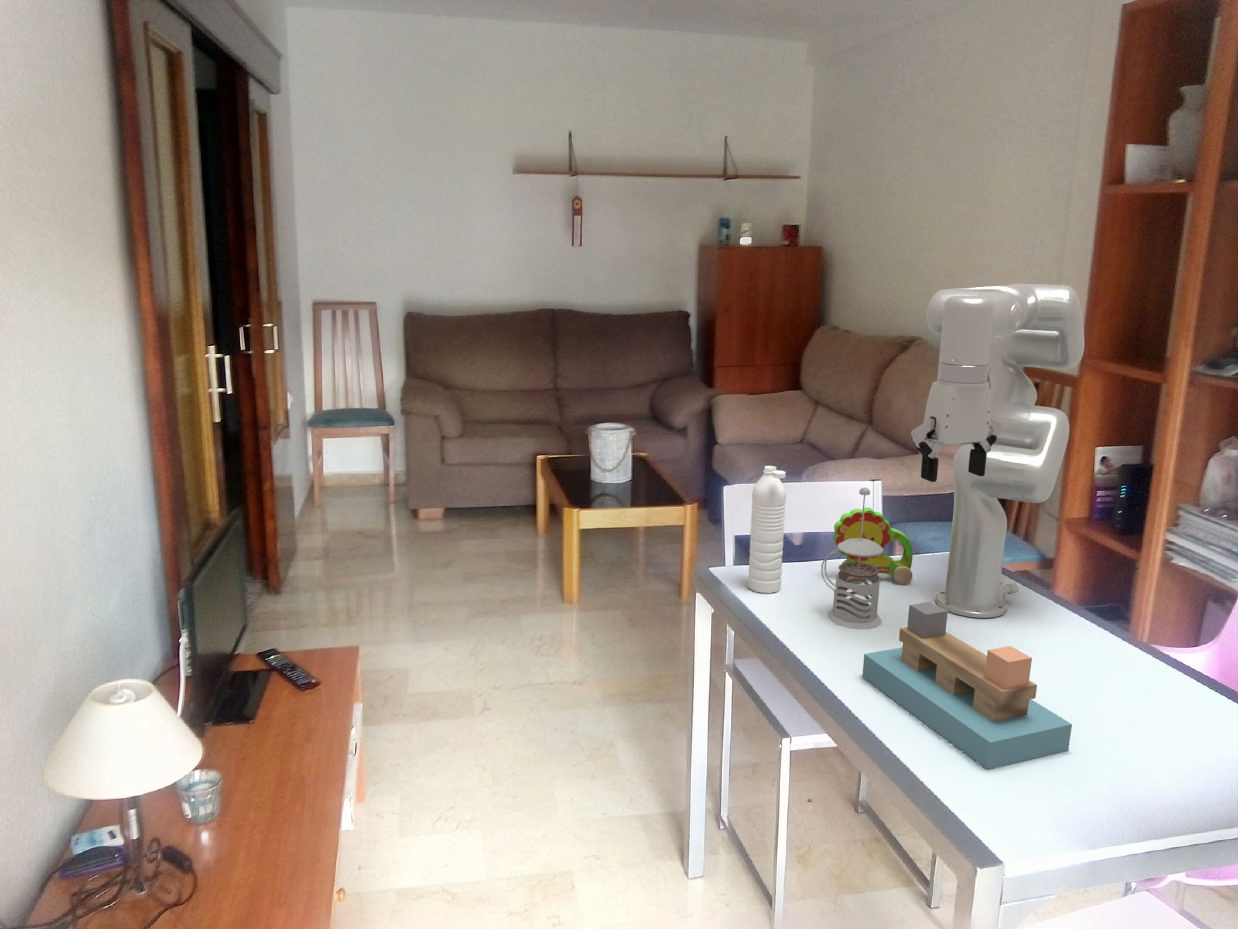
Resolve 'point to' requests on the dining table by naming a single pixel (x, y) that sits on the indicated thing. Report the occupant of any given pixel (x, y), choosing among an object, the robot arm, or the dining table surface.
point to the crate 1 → (927, 620)
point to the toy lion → (880, 534)
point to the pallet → (965, 674)
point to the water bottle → (767, 532)
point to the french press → (856, 609)
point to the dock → (967, 715)
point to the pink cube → (1008, 667)
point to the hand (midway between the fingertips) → (952, 477)
